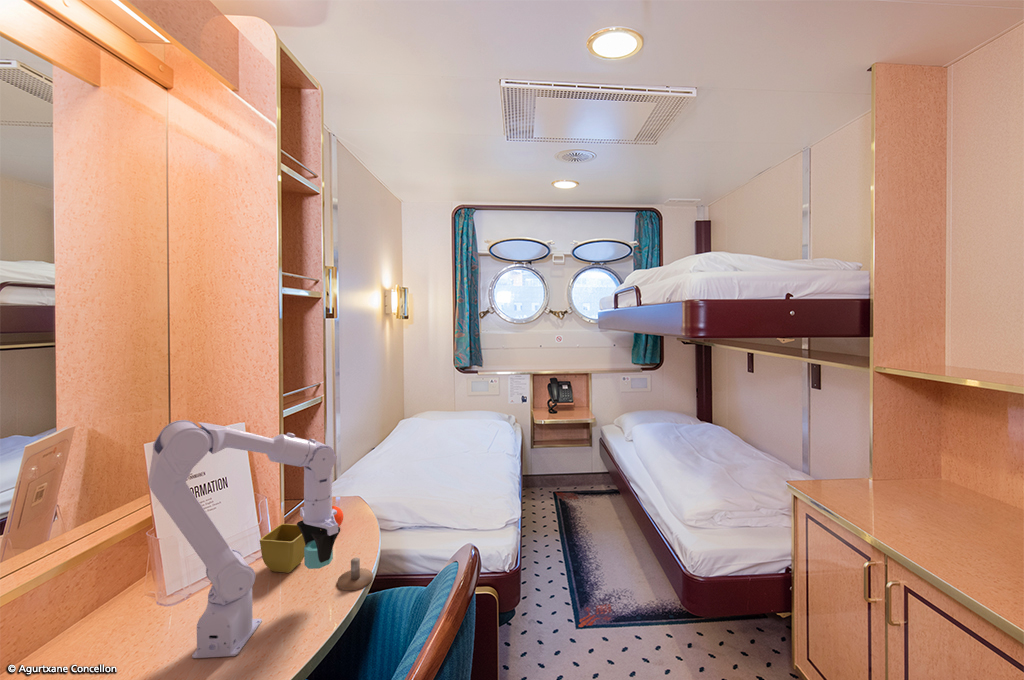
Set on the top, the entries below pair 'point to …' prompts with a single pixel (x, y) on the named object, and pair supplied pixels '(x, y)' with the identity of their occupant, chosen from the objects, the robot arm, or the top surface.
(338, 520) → the clementine
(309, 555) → the collar
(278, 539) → the flower pot
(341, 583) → the post
